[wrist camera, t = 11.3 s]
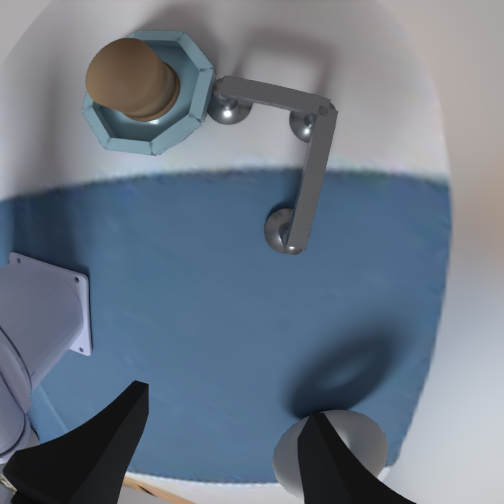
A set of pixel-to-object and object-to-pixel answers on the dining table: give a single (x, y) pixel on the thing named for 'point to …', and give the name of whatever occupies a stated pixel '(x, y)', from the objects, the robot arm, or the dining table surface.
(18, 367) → the robot arm
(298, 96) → the bent rail
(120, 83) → the cylinder
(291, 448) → the donut
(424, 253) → the dining table surface
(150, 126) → the dish
